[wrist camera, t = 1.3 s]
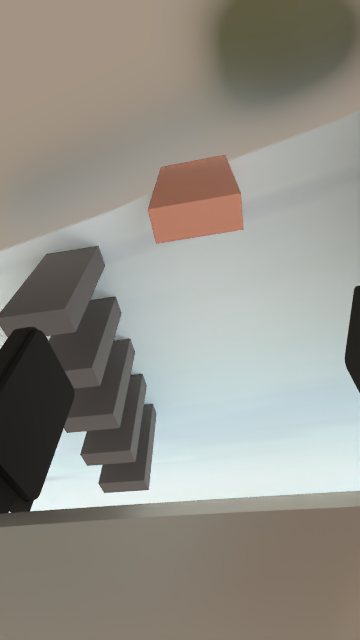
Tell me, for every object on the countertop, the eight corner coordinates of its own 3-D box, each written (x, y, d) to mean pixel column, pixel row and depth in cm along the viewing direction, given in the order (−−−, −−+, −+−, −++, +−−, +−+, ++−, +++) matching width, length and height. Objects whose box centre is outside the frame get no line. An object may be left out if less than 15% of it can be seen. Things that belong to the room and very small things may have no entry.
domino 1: (98, 245, 30) (64, 308, 22) (104, 265, 32) (75, 332, 23) (46, 254, 31) (-5, 318, 23) (54, 273, 32) (9, 340, 24)
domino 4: (142, 374, 40) (130, 450, 32) (146, 385, 41) (135, 461, 33) (102, 378, 41) (80, 454, 33) (107, 389, 42) (87, 465, 34)
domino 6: (225, 154, 26) (240, 193, 18) (227, 182, 27) (243, 229, 19) (161, 167, 26) (147, 209, 18) (166, 193, 27) (156, 243, 19)
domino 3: (130, 338, 37) (113, 413, 29) (135, 352, 38) (119, 427, 30) (86, 344, 37) (58, 419, 29) (92, 357, 39) (66, 432, 30)
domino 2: (115, 296, 34) (92, 367, 26) (121, 313, 35) (100, 385, 27) (68, 303, 34) (30, 374, 26) (75, 319, 35) (41, 392, 27)
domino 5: (152, 404, 43) (144, 480, 35) (156, 413, 44) (148, 489, 36) (115, 407, 44) (98, 483, 36) (119, 417, 45) (104, 492, 37)
